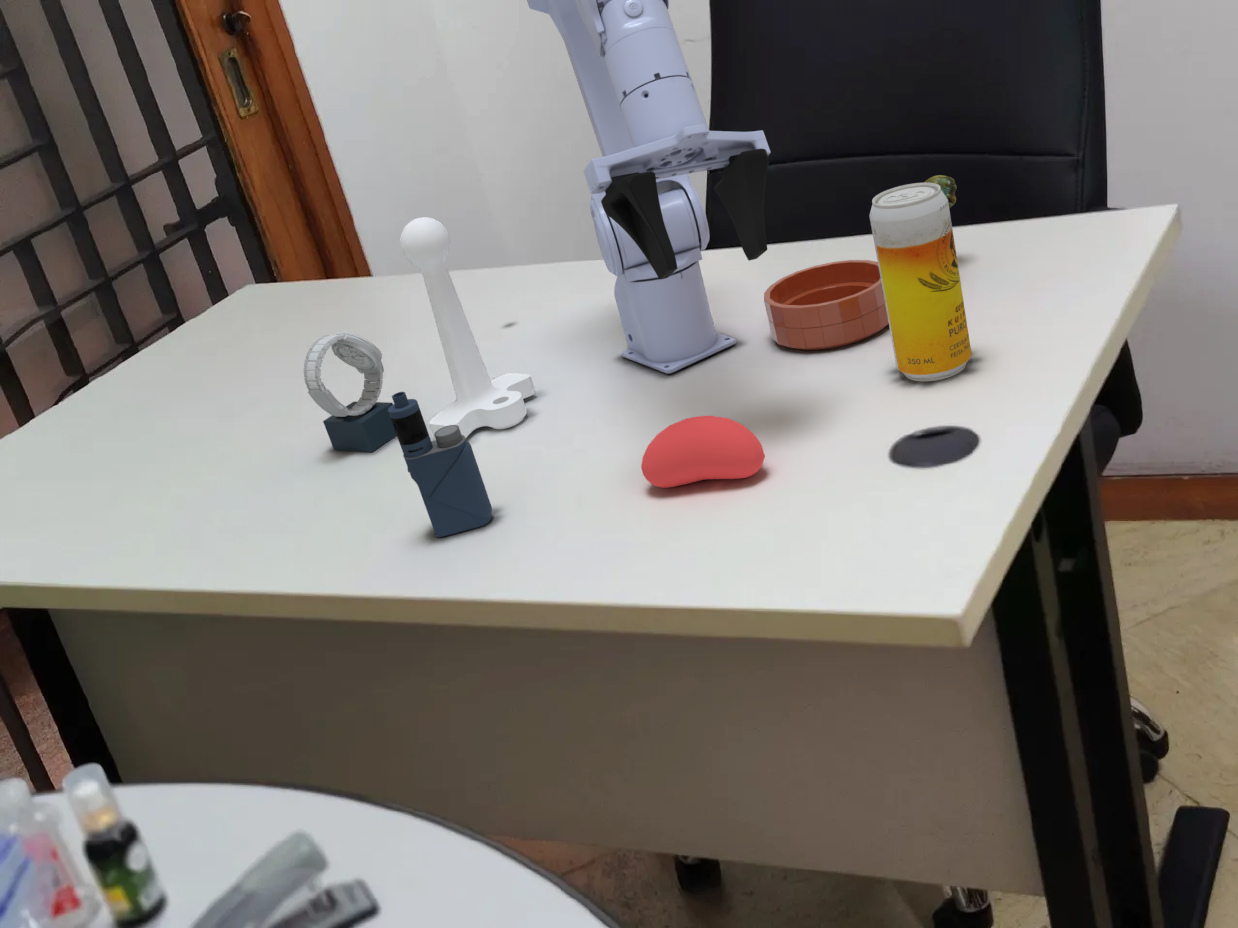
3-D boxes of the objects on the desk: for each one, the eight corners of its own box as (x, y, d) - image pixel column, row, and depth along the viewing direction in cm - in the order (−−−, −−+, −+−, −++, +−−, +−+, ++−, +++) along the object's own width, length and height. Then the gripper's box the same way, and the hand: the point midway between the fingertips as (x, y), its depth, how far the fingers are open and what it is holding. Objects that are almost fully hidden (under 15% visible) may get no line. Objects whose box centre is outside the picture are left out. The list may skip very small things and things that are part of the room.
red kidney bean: (688, 471, 104) (637, 425, 101) (777, 430, 99) (725, 380, 96) (679, 520, 101) (625, 474, 98) (770, 481, 96) (716, 430, 93)
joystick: (507, 392, 128) (445, 198, 120) (561, 397, 123) (500, 195, 115) (427, 444, 121) (355, 241, 113) (481, 450, 116) (410, 240, 108)
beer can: (974, 377, 103) (946, 197, 97) (897, 389, 105) (865, 212, 99) (971, 348, 108) (944, 175, 102) (898, 360, 110) (867, 191, 104)
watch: (415, 422, 127) (379, 319, 123) (359, 460, 121) (319, 354, 117) (376, 420, 130) (339, 320, 126) (320, 458, 125) (279, 354, 120)
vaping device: (432, 526, 104) (384, 393, 99) (495, 509, 104) (449, 375, 99) (430, 541, 102) (381, 405, 97) (494, 523, 102) (448, 386, 97)
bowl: (749, 340, 124) (739, 296, 122) (844, 296, 128) (835, 253, 126) (823, 363, 114) (814, 315, 112) (923, 315, 118) (915, 268, 116)
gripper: (585, 82, 90) (646, 262, 88) (762, 57, 96) (821, 226, 94) (556, 128, 96) (612, 297, 95) (722, 102, 102) (778, 261, 100)
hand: (714, 264), depth 95 cm, fingers open, 7 cm apart
